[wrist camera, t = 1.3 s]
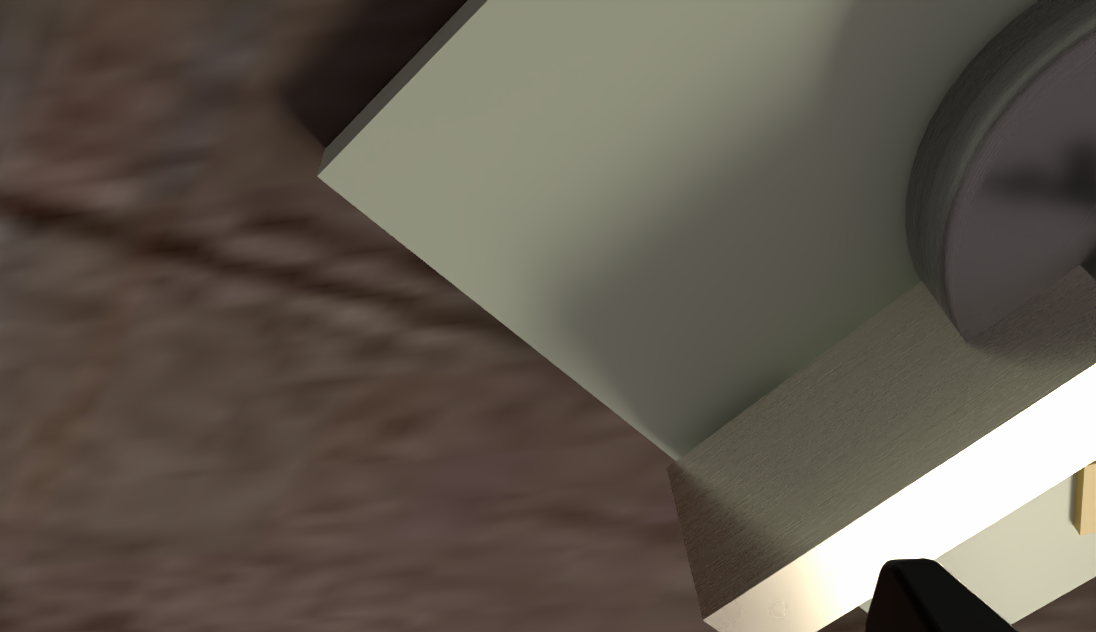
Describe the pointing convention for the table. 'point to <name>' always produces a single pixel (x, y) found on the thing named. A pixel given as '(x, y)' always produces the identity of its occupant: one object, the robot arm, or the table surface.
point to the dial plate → (690, 205)
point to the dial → (927, 359)
